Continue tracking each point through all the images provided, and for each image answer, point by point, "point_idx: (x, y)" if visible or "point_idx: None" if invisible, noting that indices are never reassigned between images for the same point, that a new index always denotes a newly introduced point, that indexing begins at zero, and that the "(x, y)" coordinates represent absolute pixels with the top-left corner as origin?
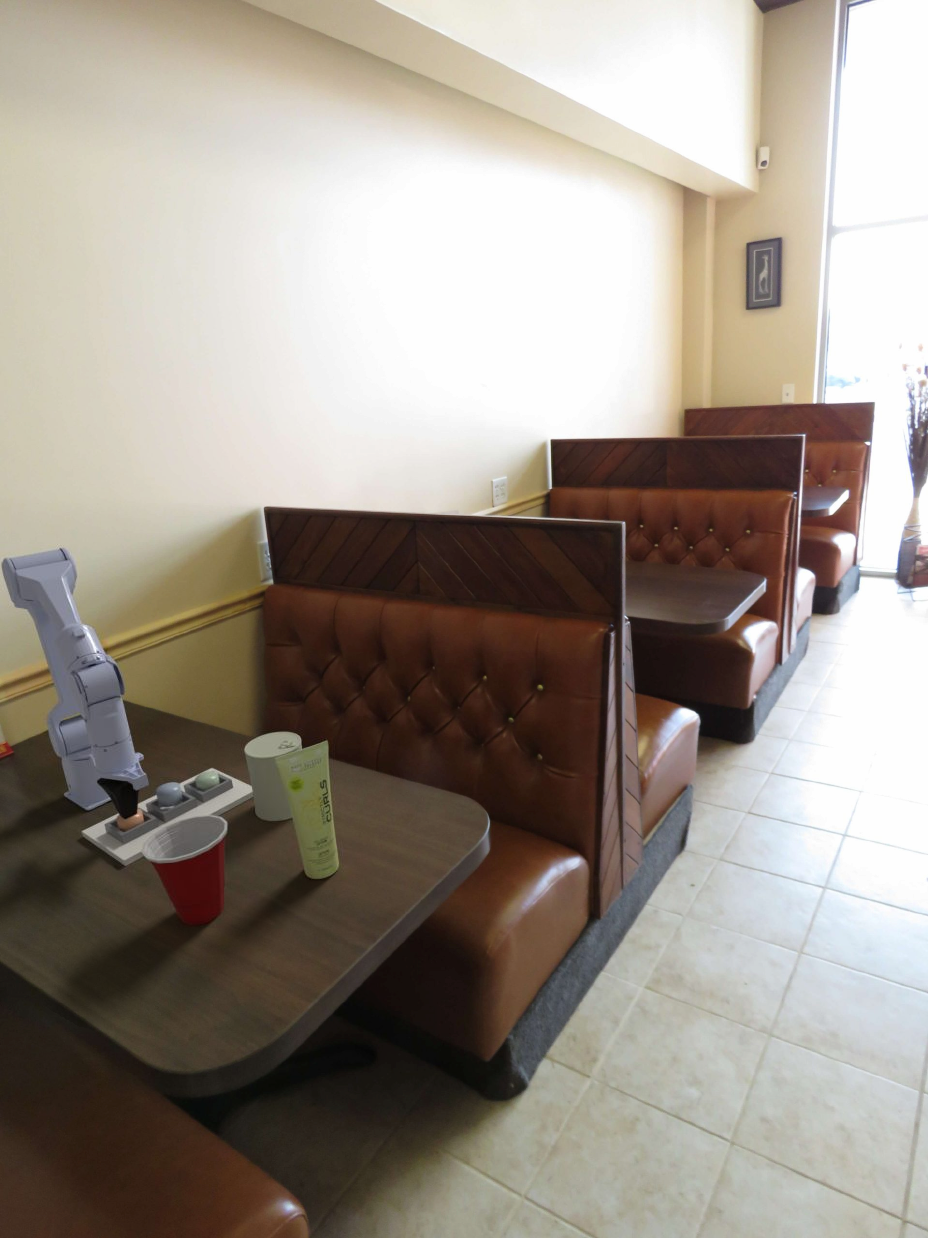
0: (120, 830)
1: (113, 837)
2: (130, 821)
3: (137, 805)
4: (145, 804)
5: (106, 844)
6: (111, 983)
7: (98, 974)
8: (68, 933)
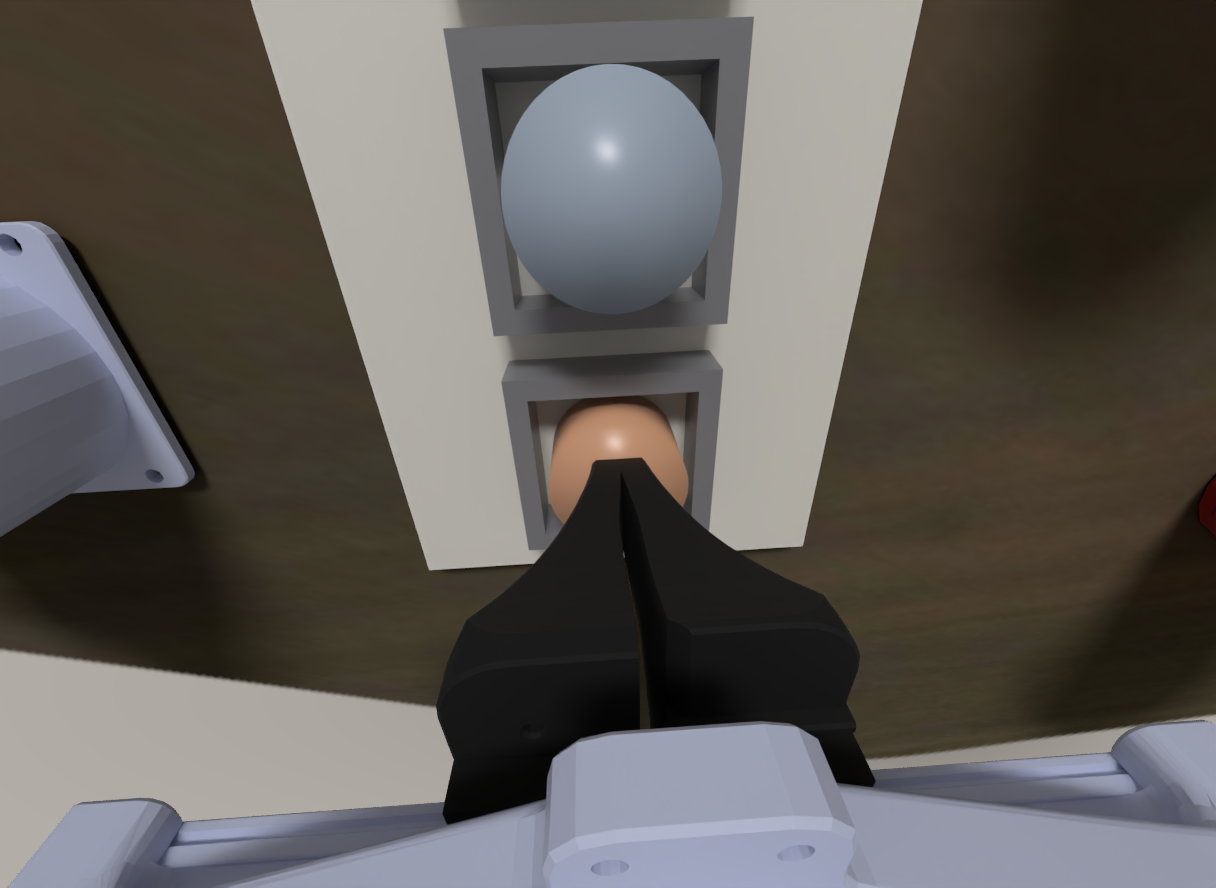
0: None
1: None
2: (682, 505)
3: (656, 478)
4: (391, 282)
5: None
6: (1147, 685)
7: (1094, 692)
8: (902, 693)
